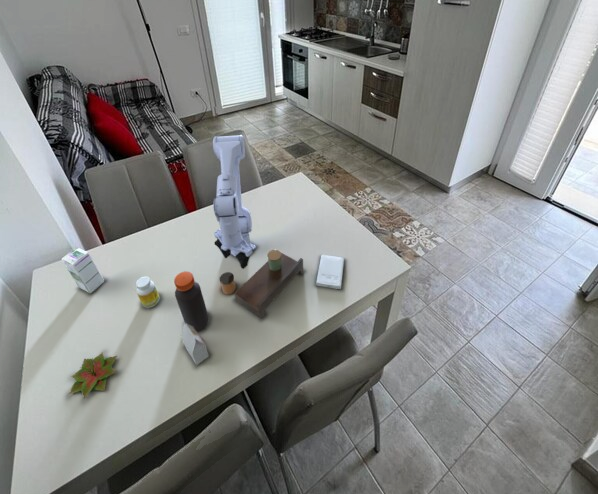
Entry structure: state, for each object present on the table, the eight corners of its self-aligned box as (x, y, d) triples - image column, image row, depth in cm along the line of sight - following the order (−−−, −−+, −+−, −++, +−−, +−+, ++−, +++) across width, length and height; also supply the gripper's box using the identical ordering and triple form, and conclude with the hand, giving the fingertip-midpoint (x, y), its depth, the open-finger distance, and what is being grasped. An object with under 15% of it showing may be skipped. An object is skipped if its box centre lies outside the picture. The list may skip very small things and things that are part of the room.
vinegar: (188, 336, 96) (172, 293, 85) (183, 317, 101) (168, 274, 90) (211, 326, 99) (199, 282, 88) (205, 308, 104) (193, 265, 93)
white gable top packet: (196, 365, 89) (189, 345, 84) (185, 346, 94) (177, 326, 88) (208, 356, 91) (202, 335, 86) (197, 338, 96) (190, 318, 90)
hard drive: (343, 260, 119) (340, 289, 109) (321, 257, 120) (316, 285, 110) (344, 257, 118) (341, 286, 108) (321, 254, 119) (316, 282, 109)
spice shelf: (235, 300, 106) (233, 287, 102) (278, 257, 121) (277, 245, 117) (261, 318, 100) (259, 306, 97) (303, 271, 115) (303, 259, 112)
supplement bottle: (141, 297, 107) (132, 278, 102) (158, 291, 109) (151, 272, 104) (142, 311, 103) (133, 291, 98) (160, 304, 105) (153, 284, 100)
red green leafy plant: (109, 398, 83) (102, 389, 80) (59, 403, 82) (51, 394, 80) (126, 350, 93) (121, 341, 90) (82, 354, 92) (75, 345, 90)
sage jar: (265, 267, 112) (264, 255, 109) (274, 258, 116) (273, 247, 112) (276, 273, 110) (275, 262, 107) (284, 264, 113) (283, 253, 110)
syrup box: (105, 281, 113) (89, 251, 105) (89, 294, 109) (72, 264, 100) (93, 275, 115) (77, 246, 107) (78, 288, 111) (60, 258, 103)
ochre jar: (219, 290, 109) (216, 279, 106) (229, 280, 112) (227, 269, 109) (228, 297, 107) (226, 286, 104) (238, 287, 110) (237, 276, 107)
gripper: (203, 227, 99) (211, 259, 107) (238, 247, 92) (243, 280, 100) (221, 215, 104) (227, 246, 112) (255, 233, 97) (259, 265, 104)
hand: (236, 261), depth 106 cm, fingers open, 7 cm apart
